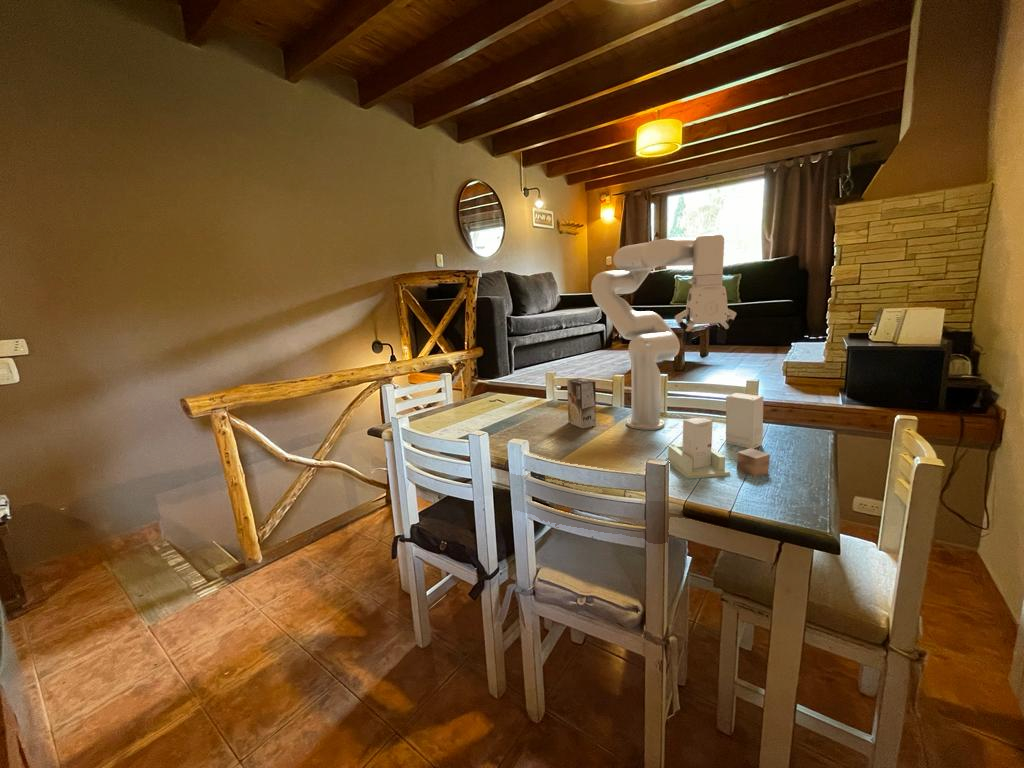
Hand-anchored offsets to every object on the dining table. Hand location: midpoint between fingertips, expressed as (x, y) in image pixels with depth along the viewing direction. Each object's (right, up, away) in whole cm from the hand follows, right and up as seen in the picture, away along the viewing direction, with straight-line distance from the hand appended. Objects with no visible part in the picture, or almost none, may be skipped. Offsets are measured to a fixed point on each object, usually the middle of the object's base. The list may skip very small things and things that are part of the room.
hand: (704, 343), depth 119 cm
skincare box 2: (+14, -29, +5) cm, 33 cm away
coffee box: (-29, -26, +32) cm, 51 cm away
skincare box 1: (-6, -33, -9) cm, 34 cm away
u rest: (-6, -33, -9) cm, 35 cm away
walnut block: (+6, -34, -13) cm, 37 cm away
